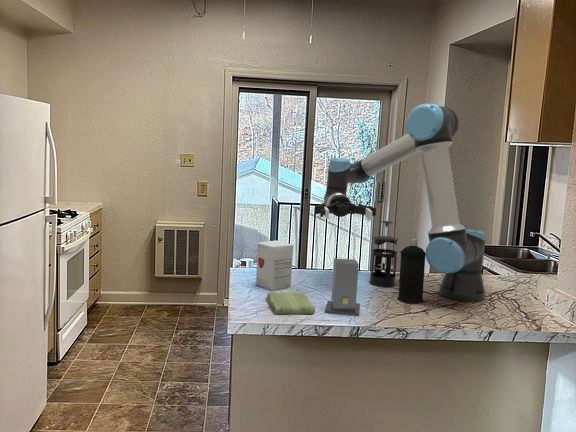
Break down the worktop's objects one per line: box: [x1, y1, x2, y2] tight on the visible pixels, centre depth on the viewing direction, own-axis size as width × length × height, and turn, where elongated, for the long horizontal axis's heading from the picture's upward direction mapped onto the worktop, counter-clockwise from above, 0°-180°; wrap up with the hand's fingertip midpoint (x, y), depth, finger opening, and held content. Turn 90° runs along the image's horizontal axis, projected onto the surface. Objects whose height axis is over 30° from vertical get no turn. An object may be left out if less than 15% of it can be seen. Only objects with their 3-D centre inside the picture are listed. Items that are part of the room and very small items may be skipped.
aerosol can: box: [397, 238, 426, 304], centre depth 175 cm, size 8×8×20 cm
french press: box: [368, 220, 399, 288], centre depth 195 cm, size 12×9×23 cm
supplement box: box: [255, 240, 294, 292], centre depth 185 cm, size 9×9×15 cm
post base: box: [324, 300, 361, 317], centre depth 163 cm, size 10×10×6 cm
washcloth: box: [265, 291, 316, 315], centre depth 164 cm, size 13×18×3 cm
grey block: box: [330, 258, 360, 311], centre depth 162 cm, size 9×7×14 cm
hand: (349, 215), depth 169 cm, fingers open, 13 cm apart
